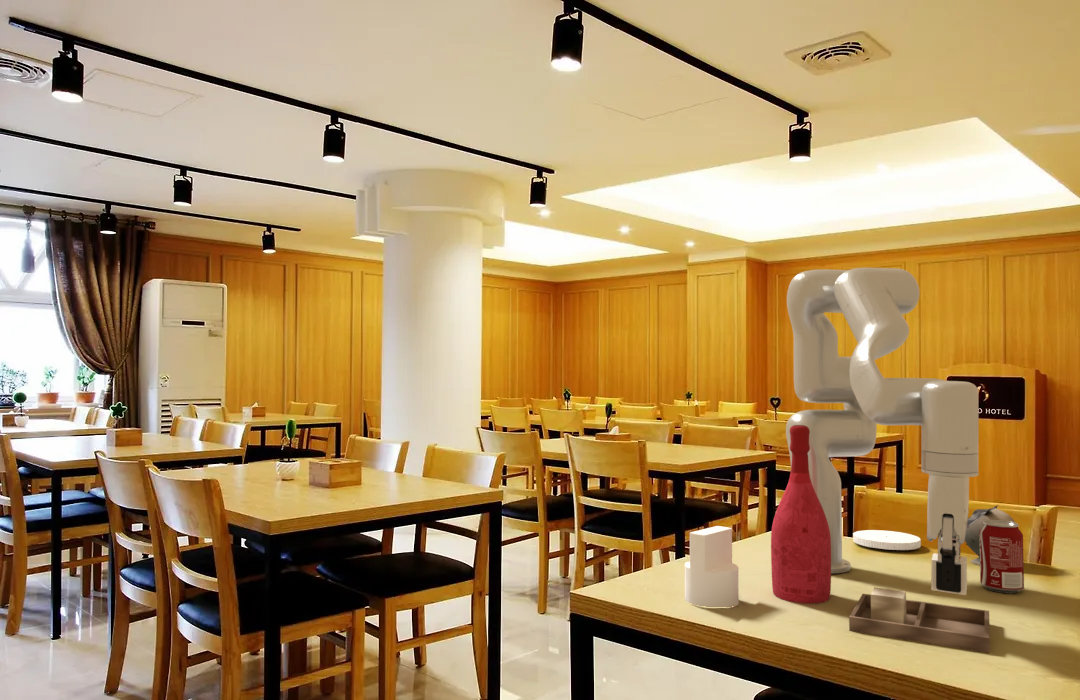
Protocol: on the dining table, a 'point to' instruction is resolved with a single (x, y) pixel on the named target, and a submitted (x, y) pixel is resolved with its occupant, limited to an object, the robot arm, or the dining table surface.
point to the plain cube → (888, 605)
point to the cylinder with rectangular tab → (711, 569)
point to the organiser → (928, 624)
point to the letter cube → (963, 574)
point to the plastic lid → (887, 540)
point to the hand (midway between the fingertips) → (949, 584)
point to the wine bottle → (800, 534)
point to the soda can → (1001, 556)
